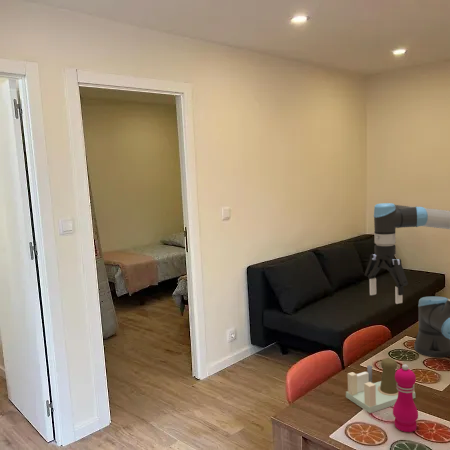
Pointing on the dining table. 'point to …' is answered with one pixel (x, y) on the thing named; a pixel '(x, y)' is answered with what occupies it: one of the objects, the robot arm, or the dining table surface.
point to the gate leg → (357, 382)
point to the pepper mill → (405, 400)
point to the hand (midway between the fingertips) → (385, 298)
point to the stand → (373, 396)
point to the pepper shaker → (388, 376)
